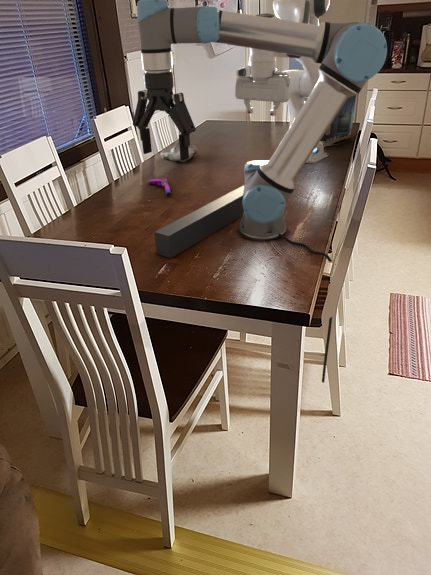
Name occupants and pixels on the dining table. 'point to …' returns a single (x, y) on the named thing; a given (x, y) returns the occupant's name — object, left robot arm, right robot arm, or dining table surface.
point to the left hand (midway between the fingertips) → (165, 156)
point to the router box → (340, 122)
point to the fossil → (177, 153)
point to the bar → (199, 224)
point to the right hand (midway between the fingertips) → (261, 114)
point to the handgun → (162, 184)
